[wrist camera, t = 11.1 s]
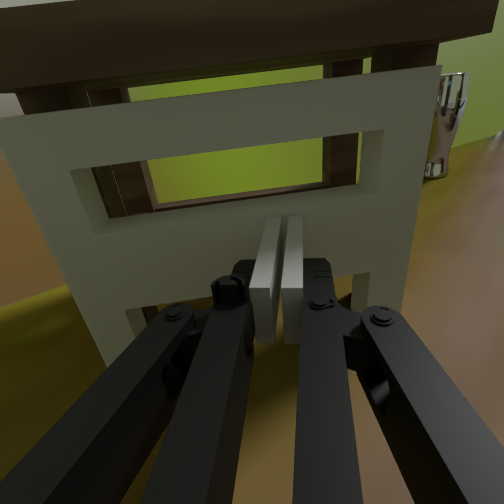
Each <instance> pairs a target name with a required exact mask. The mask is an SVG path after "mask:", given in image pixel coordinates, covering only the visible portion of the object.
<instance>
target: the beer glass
mask: <svg viewBox="0 0 504 504" xmlns="http://www.w3.org/2000/svg"><path fill="white" fill-rule="evenodd" d="M470 74H471V72H470V71H469V72H468V71H467V72H455V73H445V74H441V76H440V82H439V88H438V94H437V100H436V106H435V112H434V117H433V123H432V129H431V135H430V141H429V147H428V153H427V159H426V165H425V171H424V177H423V179H436V178H442V177H445V176H447V175H448V159H449V152H450V149H451V145H452V143H453V140H454V138H455V135H456V133H457V130H458V127H459V125H460V122H461V119H462V116H463V113H464V109H465V106H466V101H467V96H468V88H469V80H470Z"/></svg>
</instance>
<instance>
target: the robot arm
mask: <svg viewBox="0 0 504 504" xmlns="http://www.w3.org/2000/svg"><path fill="white" fill-rule="evenodd" d="M283 261H284V265H283ZM282 270H283V275H282ZM281 279H282V284H281ZM210 286H211V291H212V296H213V301H214V303H213V306H212V307H210V308H207V309H203V310H198V311H193V309H192V307H191V306H190V305H188V304H185V303H177V304H172V305H170V306H168V307H165V308H164V309H163V310H162V311H160V312H159V313H158V315H157V316H156V317H155V318H154V319H153V320H152V321H151V322H150V323H149V324H148V325H147V326H146V327H145V328H144V330H143V331H142V332H141V333H140V334H139V335H138V336H137V337H136V338H135V339H134V340H133V341H132V342H131V343H130V344H129V346H128V347H127V348H126V349H125V350H124V351H123V352H122V353H121V354H120V355H119V356H118V357H117V358H116V359H115V360H114V362H113V363H112V364H111V365H110V366H109V367H108V368H107V369H106V370H105V371H104V372H103V373H102V374H101V375H100V376H99V378H98V379H97V380H96V381H95V382H94V383H93V384H92V385H91V386H90V387H89V388H88V389H87V390H86V391H85V392H84V394H83V395H82V396H81V397H80V398H79V399H78V400H77V401H76V402H75V403H74V404H73V405H72V406H71V407H70V408H69V410H68V411H67V412H66V413H65V414H64V415H63V416H62V417H61V418H60V419H59V420H58V421H57V422H56V423H55V425H54V426H53V427H52V428H51V429H50V430H49V431H48V432H47V433H46V434H45V435H44V436H43V437H42V438H41V439H40V441H39V442H38V443H37V444H36V445H35V446H34V447H33V448H32V449H31V450H30V451H29V452H28V453H27V454H26V455H25V457H24V458H23V459H22V460H21V461H20V462H19V463H18V464H17V465H16V466H15V467H14V468H13V469H12V470H11V471H10V473H9V474H8V475H7V476H6V477H5V478H4V479H3V480H2V481H1V482H0V504H119V503H120V502H121V500H122V498H123V497H124V495H125V493H126V492H127V490H128V489H129V487H130V485H131V484H132V482H133V480H134V479H135V477H136V476H137V474H138V472H139V471H140V469H141V467H142V466H143V464H144V463H145V461H146V459H147V458H148V456H149V454H150V453H151V451H152V450H153V448H154V446H155V445H156V443H157V441H158V440H159V438H160V437H161V435H162V433H163V432H164V430H165V428H166V427H167V425H168V424H169V422H170V424H169V426H168V429H167V432H166V434H165V437H164V440H163V443H162V445H161V448H160V451H159V454H158V456H157V459H156V462H155V465H154V467H153V470H152V473H151V475H150V478H149V481H148V484H147V486H146V489H145V492H144V495H143V497H142V500H141V503H140V504H232V499H233V492H234V485H235V479H236V472H237V465H238V459H239V452H240V445H241V438H242V432H243V425H244V418H245V412H246V405H247V398H248V392H249V385H250V378H251V371H252V365H253V358H254V346H253V341H254V336H255V340H256V343H275V334H276V325H277V316H278V307H279V297H280V288H281V294H282V310H283V327H284V343H285V344H300V346H299V368H298V390H297V412H296V434H295V457H294V479H293V501H292V504H363V497H362V489H361V481H360V473H359V464H358V456H357V448H356V440H355V432H354V423H353V415H352V407H351V399H350V391H349V382H348V374H347V368H348V369H351V370H354V371H356V373H357V376H358V379H359V381H360V383H361V385H362V387H363V390H364V392H365V394H366V396H367V399H368V401H369V403H370V405H371V407H372V410H373V412H374V414H375V416H376V419H377V421H378V423H379V425H380V427H381V430H382V432H383V434H384V436H385V439H386V441H387V443H388V445H389V447H390V450H391V452H392V454H393V456H394V458H395V461H396V463H397V465H398V467H399V470H400V472H401V474H402V476H403V478H404V481H405V483H406V485H407V487H408V490H409V492H410V494H411V496H412V498H413V501H414V503H415V504H504V448H503V446H502V445H501V444H500V442H499V441H498V440H497V439H496V437H495V436H494V435H493V433H492V432H491V431H490V429H489V428H488V427H487V426H486V424H485V423H484V422H483V420H482V419H481V418H480V416H479V415H478V414H477V412H476V411H475V410H474V409H473V407H472V406H471V405H470V403H469V402H468V401H467V399H466V398H465V397H464V396H463V394H462V393H461V392H460V390H459V389H458V388H457V386H456V385H455V384H454V383H453V381H452V380H451V379H450V377H449V376H448V375H447V373H446V372H445V371H444V370H443V368H442V367H441V366H440V364H439V363H438V362H437V360H436V359H435V358H434V357H433V355H432V354H431V353H430V351H429V350H428V349H427V347H426V346H425V345H424V343H423V342H422V341H421V340H420V338H419V337H418V336H417V334H416V333H415V332H414V330H413V329H412V328H411V327H410V325H409V324H408V323H407V321H406V320H405V319H404V317H403V316H402V315H401V314H400V313H399V312H398V311H396V310H394V309H392V308H390V307H386V306H370V307H367V308H366V309H364V310H363V312H362V313H358V312H354V311H351V310H348V309H346V308H344V307H342V306H341V305H340V304H339V303H338V301H337V299H336V297H335V290H334V283H333V277H332V270H331V264H330V263H329V262H328V261H327V260H326V258H304V255H303V216H289V218H288V227H287V237H286V246H285V256H284V258H283V239H282V221H281V217H267V221H266V225H265V229H264V232H263V236H262V240H261V244H260V248H259V251H258V255H257V259H245V260H240V261H238V262H237V263H236V264H235V265H234V267H233V270H232V273H231V275H225V276H222V277H219V278H217V279H215V280H214V281H213V282H212V283H211V285H210ZM170 420H171V421H170Z"/></svg>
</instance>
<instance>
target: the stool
mask: <svg viewBox="0 0 504 504" xmlns="http://www.w3.org/2000/svg"><path fill="white" fill-rule="evenodd" d="M498 2H499V0H74V1H65V2H55V3H45V4H36V5H26V6H18V7H8V8H0V93H15V94H16V96H17V98H18V101H19V103H20V105H21V108H22V110H23V112H24V114H25V115H28V114H36V113H44V112H53V111H61V110H69V109H78V108H86V107H91V106H92V107H94V106H102V105H111V104H119V103H127V102H131V99H130V96H129V92H128V88H131V87H139V86H146V85H147V86H148V85H156V84H164V83H172V82H181V81H189V80H198V79H205V78H215V77H223V76H232V75H240V74H248V73H257V72H265V71H274V70H282V69H290V68H298V67H307V66H315V65H323V79H326V78H334V77H342V76H350V75H359V74H362V70H363V59H364V58H369V57H372V60H371V73H375V72H384V71H392V70H400V69H408V68H417V67H427V66H436V60H437V53H438V47H439V43H442V42H447V41H452V40H457V39H462V38H466V37H471V36H476V35H481V34H486V33H490V32H492V29H493V24H494V20H495V15H496V11H497V6H498ZM87 94H88V96H87ZM88 97H89V99H88ZM89 100H90V102H89ZM90 103H91V105H90ZM358 135H359V132H358V133H351V134H343V135H335V136H328V137H323V160H322V162H323V164H322V182H317V183H309V184H301V185H294V186H286V187H279V188H271V189H264V190H257V191H249V192H242V193H234V194H227V195H219V196H213V197H204V198H197V199H189V200H183V201H175V202H167V203H160V204H158V200H157V197H156V193H155V189H154V185H153V182H152V178H151V174H150V170H149V167H148V163H147V160H144V161H136V162H129V163H121V164H113V165H111V166H110V165H106V166H98V167H91V170H92V173H93V176H94V178H95V181H96V184H97V187H98V189H99V192H100V195H101V198H102V201H103V203H104V206H105V209H106V212H107V214H108V217H109V219H111V218H118V217H125V216H133V215H140V214H147V213H154V212H161V211H168V210H176V209H183V208H190V207H197V206H204V205H211V204H219V203H226V202H233V201H240V200H247V199H254V198H262V197H269V196H276V195H283V194H290V193H298V192H305V191H312V190H319V189H326V188H333V187H341V186H348V185H355V184H356V168H357V152H358ZM111 167H112V169H111ZM112 171H113V172H112ZM113 174H114V175H113ZM114 177H115V178H114ZM115 180H116V181H115ZM116 183H117V184H116ZM117 186H118V187H117ZM118 189H119V190H118ZM119 192H120V193H119ZM120 195H121V196H120ZM121 198H122V199H121ZM122 201H123V202H122ZM123 204H124V206H123ZM124 207H125V209H124ZM125 210H126V212H125ZM126 213H127V215H126ZM141 309H142V312H143V315H144V317H145V320H146V323H147V325H148V324H149V323H150V322H151V321H152V320H153V319H154V318H155V317H156V316H157V315H158V309H157V306H156V305H153V306H146V307H141Z"/></svg>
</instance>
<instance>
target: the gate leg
mask: <svg viewBox="0 0 504 504" xmlns="http://www.w3.org/2000/svg"><path fill="white" fill-rule="evenodd" d="M441 70H442V65H436V66H427V67H417V68H408V69H400V70H392V71H384V72H375V73H367V74H359V75H350V76H342V77H334V78H326V79H317V80H309V81H301V82H293V83H284V84H276V85H268V86H260V87H251V88H244V89H235V90H226V91H218V92H210V93H203V94H193V95H185V96H177V97H169V98H160V99H153V100H144V101H135V102H127V103H119V104H111V105H102V106H94V107H86V108H78V109H69V110H61V111H53V112H44V113H36V114H28V115H20V116H12V117H5V118H0V148H1V151H2V153H3V155H4V157H5V159H6V161H7V163H8V165H9V167H10V169H11V171H12V173H13V175H14V177H15V179H16V181H17V183H18V185H19V188H20V190H21V191H22V193H23V196H24V198H25V200H26V202H27V204H28V206H29V208H30V210H31V212H32V214H33V216H34V218H35V220H36V222H37V224H38V226H39V228H40V231H41V233H42V235H43V237H44V239H45V241H46V243H47V245H48V247H49V249H50V251H51V253H52V255H53V257H54V259H55V261H56V263H57V265H58V268H59V269H60V272H61V274H62V276H63V278H64V280H65V282H66V284H67V286H68V288H69V290H70V292H71V294H72V296H73V298H74V300H75V302H76V304H77V307H78V309H79V311H80V313H81V315H82V317H83V319H84V321H85V323H86V325H87V327H88V329H89V331H90V333H91V335H92V337H93V339H94V341H95V343H96V345H97V348H98V350H99V352H100V354H101V356H102V358H103V360H104V362H105V364H106V366H107V368H108V367H109V366H110V365H111V364H112V363H113V362H114V360H115V359H116V358H117V357H118V356H119V355H120V354H121V353H122V352H123V351H124V350H125V349H126V348H127V347H128V346H129V344H130V343H131V342H132V341H133V340H134V339H135V338H136V337H137V336H138V335H139V334H140V333H141V332H142V331H143V330H144V328H145V327H146V326H147V323H146V320H145V317H144V315H143V312H142V309H141V307H146V306H153V305H159V304H166V303H172V302H178V301H185V300H191V299H198V298H204V297H211V296H212V291H211V286H210V285H211V283H212V282H213V281H214V280H215V279H217V278H219V277H222V276H225V275H231V273H232V270H233V267H234V265H235V264H236V263H237V262H238V261H240V260H245V259H257V255H258V251H259V248H260V244H261V240H262V236H263V232H264V229H265V225H266V221H267V217H281V221H282V239H283V258H284V256H285V246H286V237H287V227H288V218H289V216H303V255H304V258H326V260H327V261H328V262H329V263H330V264H331V270H332V277H333V278H334V277H340V276H347V275H353V281H352V296H351V310H352V311H354V312H358V313H362V312H363V310H364V309H366V308H367V307H370V306H386V307H390V308H392V309H394V310H396V311H398V312H399V313H400V312H401V307H402V301H403V295H404V289H405V283H406V277H407V271H408V265H409V259H410V253H411V247H412V242H413V236H414V230H415V224H416V218H417V212H418V206H419V200H420V194H421V188H422V182H423V177H424V171H425V165H426V159H427V153H428V147H429V141H430V135H431V129H432V123H433V117H434V112H435V106H436V100H437V94H438V88H439V82H440V76H441ZM358 132H362V146H361V161H360V176H359V184H355V185H348V186H341V187H333V188H326V189H319V190H312V191H305V192H298V193H290V194H283V195H276V196H269V197H262V198H254V199H247V200H240V201H233V202H226V203H219V204H211V205H204V206H197V207H190V208H183V209H176V210H168V211H161V212H154V213H147V214H140V215H133V216H125V217H118V218H111V219H109V217H108V214H107V212H106V209H105V206H104V203H103V201H102V198H101V195H100V192H99V189H98V187H97V184H96V181H95V178H94V176H93V173H92V170H91V167H98V166H106V165H113V164H121V163H129V162H136V161H144V160H152V159H159V158H167V157H175V156H182V155H190V154H198V153H205V152H213V151H220V150H228V149H236V148H243V147H251V146H259V145H266V144H274V143H281V142H289V141H296V140H304V139H312V138H320V137H328V136H335V135H343V134H351V133H358ZM283 265H284V261H283ZM282 275H283V270H282ZM281 284H282V279H281Z"/></svg>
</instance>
